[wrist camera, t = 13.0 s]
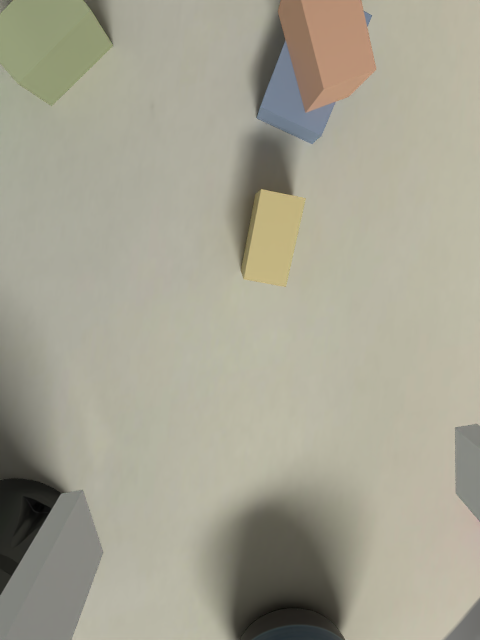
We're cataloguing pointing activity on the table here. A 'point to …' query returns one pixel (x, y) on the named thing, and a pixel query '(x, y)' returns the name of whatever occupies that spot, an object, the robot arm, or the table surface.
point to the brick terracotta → (327, 48)
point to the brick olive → (50, 44)
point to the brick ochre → (272, 237)
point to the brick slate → (292, 102)
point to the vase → (292, 626)
